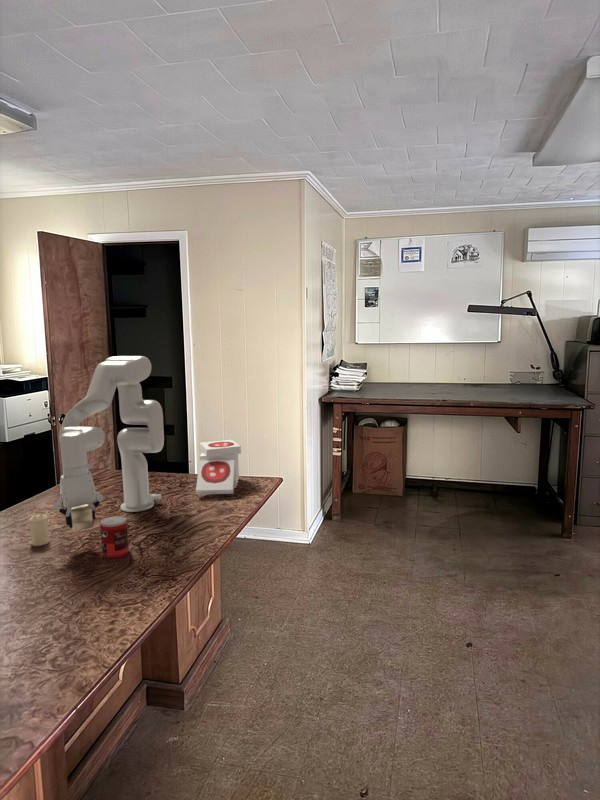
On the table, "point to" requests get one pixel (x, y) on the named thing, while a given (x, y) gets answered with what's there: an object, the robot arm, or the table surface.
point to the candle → (39, 529)
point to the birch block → (81, 517)
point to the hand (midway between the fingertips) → (81, 523)
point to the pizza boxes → (218, 467)
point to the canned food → (114, 537)
